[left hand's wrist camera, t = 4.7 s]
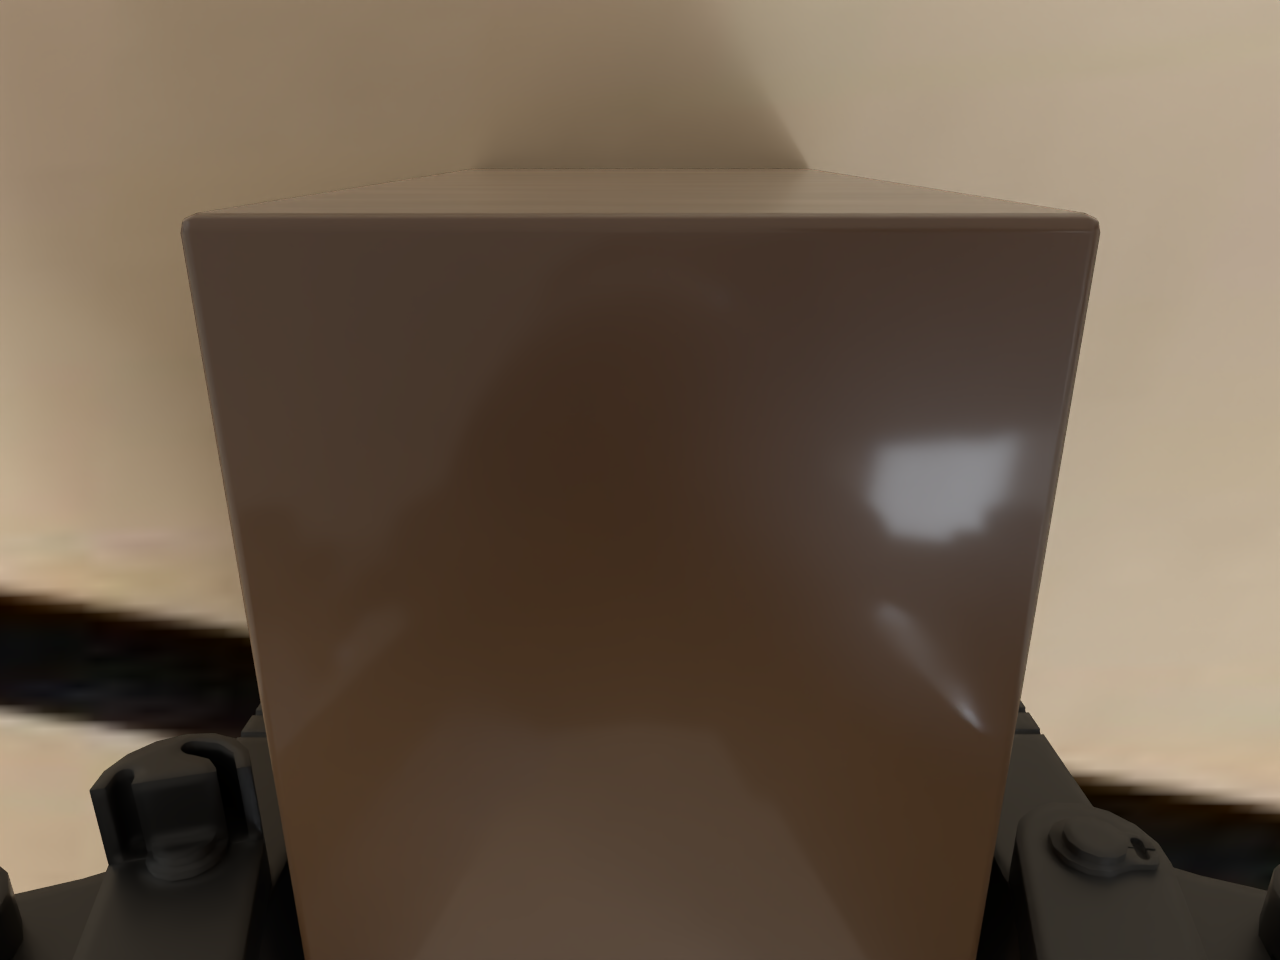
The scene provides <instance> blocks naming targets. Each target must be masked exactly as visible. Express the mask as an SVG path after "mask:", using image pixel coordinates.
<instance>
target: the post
mask: <svg viewBox="0 0 1280 960" xmlns="http://www.w3.org/2000/svg"><path fill="white" fill-rule="evenodd" d="M1099 236H1100V229H1099V222H1098V220H1097V219H1096V218H1094V217H1092V216H1090V215H1088V214H1085V213H1081V212H1074V211H1068V210H1062V209H1056V208H1049V207H1043V206H1037V205H1031V204H1024V203H1018V202H1012V201H1006V200H1000V199H993V198H987V197H981V196H975V195H968V194H962V193H956V192H950V191H943V190H937V189H931V188H925V187H918V186H912V185H906V184H900V183H893V182H887V181H881V180H875V179H868V178H862V177H856V176H850V175H844V174H837V173H831V172H825V171H819V170H812V169H468V170H462V171H456V172H449V173H443V174H437V175H431V176H424V177H418V178H412V179H406V180H400V181H393V182H387V183H381V184H375V185H368V186H362V187H356V188H350V189H344V190H337V191H331V192H325V193H319V194H312V195H306V196H300V197H294V198H288V199H281V200H275V201H269V202H263V203H257V204H250V205H244V206H238V207H232V208H225V209H219V210H213V211H207V212H201V213H196V214H193V215H191V216H189V217H187V218H185V219H184V220H183V222H182V228H181V237H182V243H183V249H184V255H185V261H186V267H187V272H188V278H189V284H190V290H191V296H192V302H193V307H194V313H195V319H196V325H197V331H198V337H199V343H200V349H201V354H202V360H203V366H204V372H205V378H206V384H207V389H208V395H209V401H210V407H211V413H212V419H213V425H214V430H215V436H216V442H217V448H218V454H219V460H220V466H221V471H222V477H223V483H224V489H225V495H226V501H227V507H228V512H229V518H230V524H231V530H232V536H233V542H234V548H235V553H236V559H237V565H238V571H239V577H240V583H241V589H242V594H243V600H244V606H245V612H246V618H247V624H248V630H249V635H250V641H251V647H252V653H253V659H254V665H255V671H256V676H257V682H258V688H259V694H260V700H261V706H262V712H263V717H264V723H265V729H266V735H267V741H268V747H269V753H270V758H271V764H272V770H273V776H274V782H275V788H276V794H277V799H278V805H279V811H280V817H281V823H282V829H283V835H284V840H285V846H286V852H287V858H288V864H289V870H290V876H291V881H292V887H293V893H294V899H295V905H296V911H297V917H298V922H299V928H300V934H301V940H302V946H303V952H304V958H305V960H976V956H977V950H978V944H979V938H980V932H981V926H982V921H983V915H984V909H985V903H986V897H987V891H988V886H989V880H990V874H991V868H992V862H993V856H994V850H995V845H996V839H997V833H998V827H999V821H1000V815H1001V809H1002V804H1003V798H1004V792H1005V786H1006V780H1007V774H1008V769H1009V763H1010V757H1011V751H1012V745H1013V739H1014V733H1015V728H1016V722H1017V716H1018V710H1019V704H1020V698H1021V692H1022V687H1023V681H1024V675H1025V669H1026V663H1027V657H1028V652H1029V646H1030V640H1031V634H1032V628H1033V622H1034V616H1035V611H1036V605H1037V599H1038V593H1039V587H1040V581H1041V575H1042V570H1043V564H1044V558H1045V552H1046V546H1047V540H1048V535H1049V529H1050V523H1051V517H1052V511H1053V505H1054V499H1055V494H1056V488H1057V482H1058V476H1059V470H1060V464H1061V458H1062V453H1063V447H1064V441H1065V435H1066V429H1067V423H1068V418H1069V412H1070V406H1071V400H1072V394H1073V388H1074V382H1075V377H1076V371H1077V365H1078V359H1079V353H1080V347H1081V342H1082V336H1083V330H1084V324H1085V318H1086V312H1087V306H1088V301H1089V295H1090V289H1091V283H1092V277H1093V271H1094V265H1095V260H1096V254H1097V248H1098V242H1099Z"/></svg>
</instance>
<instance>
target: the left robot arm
mask: <svg viewBox="0 0 1280 960" xmlns="http://www.w3.org/2000/svg"><path fill="white" fill-rule="evenodd" d="M89 791H90V794H91V798H92V802H93V806H94V810H95V814H96V818H97V822H98V825H99V829H100V833H101V837H102V841H103V845H104V849H105V853H106V856H107V860H108V864H109V865H108V868H107V871H106V872H104V873H100V874H97V875H94V876H90V877H87V878H84V879H80V880H75V881H71V882H67V883H62V884H58V885H53V886H49V887H45V888H40V889H36V890H32V891H27V892H23V893H18V894H14V892H13V889H12V885H11V882H10V879H9V876H8V873H7V872H6V871H5V870H4V869H3V868H1V867H0V960H305V958H304V952H303V946H302V940H301V934H300V928H299V922H298V917H297V911H296V905H295V899H294V893H293V887H292V881H291V876H290V870H289V864H288V858H287V852H286V846H285V840H284V835H283V829H282V823H281V817H280V811H279V805H278V799H277V794H276V788H275V782H274V776H273V770H272V764H271V758H270V753H269V747H268V741H267V735H266V729H265V723H264V717H263V712H262V706H261V703H260V705H259V706H258V708H257V709H256V715H255V716H252V717H251V718H250V720H249V721H248V723H247V724H246V726H245V727H244V729H243V730H242V731H241V737H240V738H237V739H235V738H231V737H227V736H223V735H219V734H215V733H208V734H186V735H181V736H177V737H173V738H169V739H165V740H161V741H157V742H154V743H152V744H150V745H148V746H145V747H143V748H141V749H139V750H136V751H134V752H132V753H130V754H127V755H126V756H125V757H123V758H122V759H121V760H119V761H118V762H116V763H115V764H114V765H112V766H111V767H109V768H108V769H107V770H105V771H104V772H103V773H102V775H101V776H100V777H99V779H98V780H97V781H96V783H95V784H94V785H93V787H92V788H91V789H90V790H89ZM976 960H1280V865H1278V866H1277V867H1276V868H1275V869H1274V871H1273V875H1272V878H1271V881H1270V884H1269V888H1268V891H1265V890H1261V889H1257V888H1252V887H1248V886H1244V885H1239V884H1235V883H1230V882H1226V881H1222V880H1217V879H1213V878H1208V877H1204V876H1200V875H1196V874H1193V873H1189V872H1186V871H1183V870H1179V869H1176V868H1173V866H1172V864H1171V862H1170V861H1169V859H1168V858H1167V856H1166V855H1165V853H1164V852H1163V850H1162V849H1161V847H1160V846H1159V844H1158V843H1157V842H1156V841H1154V840H1153V839H1152V838H1151V837H1150V836H1148V835H1147V834H1146V833H1145V832H1143V831H1142V830H1141V829H1140V828H1139V827H1137V826H1136V825H1135V824H1133V823H1131V822H1129V821H1127V820H1125V819H1123V818H1121V817H1119V816H1117V815H1115V814H1113V813H1111V812H1109V811H1105V810H1102V809H1098V808H1094V807H1093V806H1092V805H1091V803H1090V802H1089V800H1088V799H1087V797H1086V796H1085V795H1084V793H1083V792H1082V790H1081V789H1080V787H1079V786H1078V784H1077V783H1076V781H1075V780H1074V778H1073V777H1072V775H1071V774H1070V772H1069V771H1068V770H1067V768H1066V767H1065V765H1064V764H1063V762H1062V761H1061V759H1060V758H1059V756H1058V755H1057V753H1056V752H1055V750H1054V749H1053V748H1052V746H1051V745H1050V743H1049V742H1048V740H1047V739H1046V737H1045V736H1044V734H1040V728H1039V727H1038V725H1037V724H1036V723H1035V721H1034V720H1033V718H1032V717H1031V715H1030V714H1029V713H1026V712H1025V706H1024V705H1023V703H1022V702H1021V700H1020V704H1019V710H1018V716H1017V722H1016V728H1015V733H1014V739H1013V745H1012V751H1011V757H1010V763H1009V769H1008V774H1007V780H1006V786H1005V792H1004V798H1003V804H1002V809H1001V815H1000V821H999V827H998V833H997V839H996V845H995V850H994V856H993V862H992V868H991V874H990V880H989V886H988V891H987V897H986V903H985V909H984V915H983V921H982V926H981V932H980V938H979V944H978V950H977V956H976Z"/></svg>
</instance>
